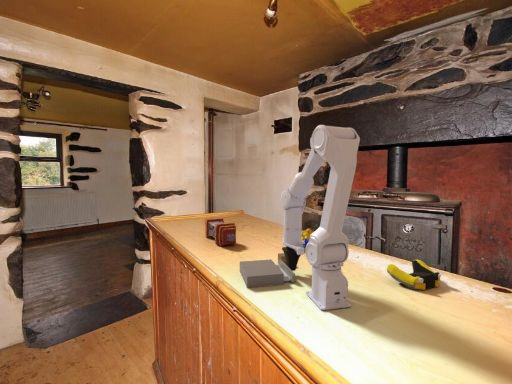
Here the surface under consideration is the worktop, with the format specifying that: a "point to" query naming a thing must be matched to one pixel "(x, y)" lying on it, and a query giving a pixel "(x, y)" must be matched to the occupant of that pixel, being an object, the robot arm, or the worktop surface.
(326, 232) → the robot arm
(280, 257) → the walnut block
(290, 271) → the tray
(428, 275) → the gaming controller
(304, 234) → the decorative model
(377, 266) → the worktop surface
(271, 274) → the box
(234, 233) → the lantern
